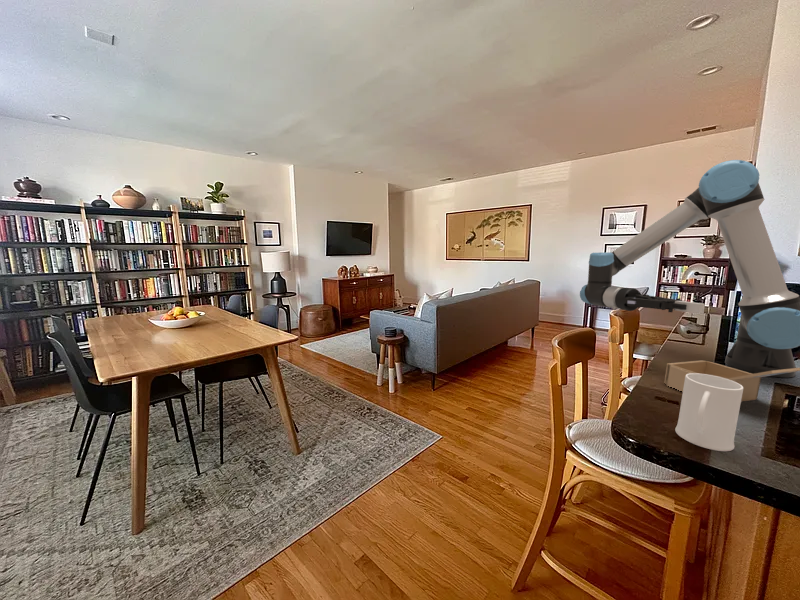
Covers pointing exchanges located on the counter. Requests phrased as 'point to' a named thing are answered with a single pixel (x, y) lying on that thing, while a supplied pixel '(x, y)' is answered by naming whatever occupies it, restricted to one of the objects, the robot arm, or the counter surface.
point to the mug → (709, 411)
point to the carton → (679, 371)
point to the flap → (765, 374)
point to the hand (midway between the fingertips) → (702, 308)
